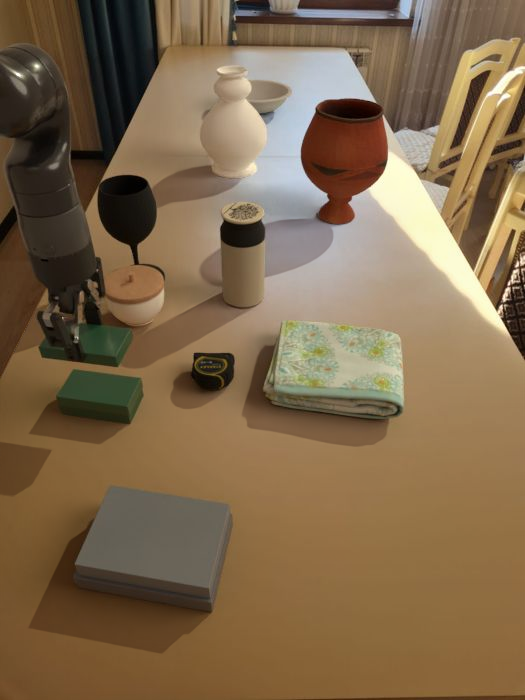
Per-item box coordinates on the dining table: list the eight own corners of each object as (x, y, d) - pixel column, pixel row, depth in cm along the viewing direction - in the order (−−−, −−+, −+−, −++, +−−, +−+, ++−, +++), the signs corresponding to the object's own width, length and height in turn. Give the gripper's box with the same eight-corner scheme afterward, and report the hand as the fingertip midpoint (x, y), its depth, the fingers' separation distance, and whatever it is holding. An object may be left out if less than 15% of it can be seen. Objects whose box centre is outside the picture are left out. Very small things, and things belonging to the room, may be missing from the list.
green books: (60, 414, 82) (54, 396, 79) (77, 386, 86) (72, 368, 84) (131, 424, 80) (127, 406, 78) (145, 395, 85) (141, 377, 82)
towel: (278, 333, 97) (279, 310, 93) (399, 347, 94) (404, 324, 91) (261, 407, 83) (261, 384, 80) (401, 426, 81) (407, 403, 77)
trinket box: (127, 342, 94) (118, 299, 88) (98, 313, 100) (88, 270, 94) (179, 318, 99) (174, 276, 93) (149, 292, 105) (142, 250, 99)
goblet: (386, 207, 133) (405, 100, 117) (363, 243, 120) (381, 129, 104) (313, 191, 139) (322, 88, 123) (284, 224, 126) (289, 113, 109)
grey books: (77, 587, 62) (67, 566, 59) (112, 504, 70) (105, 482, 67) (212, 612, 60) (210, 592, 57) (233, 524, 68) (232, 502, 65)
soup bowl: (260, 94, 198) (260, 75, 193) (306, 112, 184) (307, 91, 180) (207, 108, 186) (206, 87, 182) (251, 128, 173) (251, 106, 168)
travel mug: (271, 293, 106) (274, 208, 94) (248, 314, 101) (247, 227, 89) (239, 280, 109) (237, 196, 97) (214, 299, 104) (209, 213, 92)
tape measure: (235, 365, 90) (235, 348, 88) (233, 395, 85) (232, 378, 83) (194, 364, 90) (192, 347, 88) (189, 394, 85) (187, 377, 83)
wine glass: (148, 259, 114) (134, 167, 101) (175, 281, 108) (164, 187, 95) (103, 276, 109) (83, 182, 96) (129, 300, 103) (110, 204, 90)
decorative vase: (261, 185, 142) (262, 82, 125) (195, 179, 144) (187, 78, 127) (271, 158, 155) (273, 62, 138) (210, 153, 157) (205, 58, 140)
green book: (41, 358, 74) (37, 347, 73) (61, 330, 79) (57, 319, 77) (118, 367, 73) (115, 356, 72) (133, 339, 77) (131, 328, 76)
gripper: (55, 207, 70) (83, 310, 81) (-4, 267, 59) (37, 377, 70) (110, 212, 69) (130, 316, 80) (60, 274, 58) (92, 384, 70)
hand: (87, 344), depth 75 cm, fingers closed on green book, 6 cm apart
